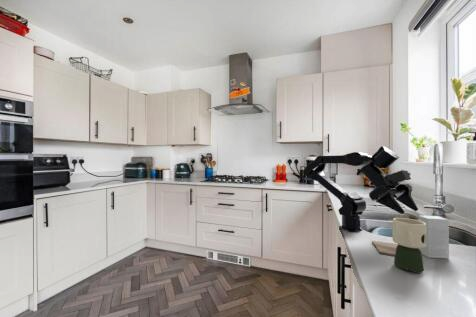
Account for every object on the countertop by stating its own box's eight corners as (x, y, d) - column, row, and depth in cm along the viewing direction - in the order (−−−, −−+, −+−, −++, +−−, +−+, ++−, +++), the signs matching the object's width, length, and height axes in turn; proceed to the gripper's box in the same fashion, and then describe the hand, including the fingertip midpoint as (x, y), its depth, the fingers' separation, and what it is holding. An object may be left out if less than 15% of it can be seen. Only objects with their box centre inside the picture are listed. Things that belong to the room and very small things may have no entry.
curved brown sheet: (372, 242, 75) (372, 240, 75) (398, 245, 72) (398, 244, 72) (380, 253, 66) (380, 252, 66) (411, 258, 63) (411, 256, 63)
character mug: (429, 282, 50) (430, 228, 50) (393, 273, 54) (393, 223, 55) (422, 264, 59) (422, 218, 60) (391, 257, 63) (391, 214, 64)
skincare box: (437, 252, 67) (437, 215, 67) (449, 259, 63) (449, 219, 63) (417, 251, 68) (417, 214, 68) (427, 257, 64) (427, 218, 64)
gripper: (378, 162, 71) (417, 200, 61) (406, 162, 80) (444, 195, 70) (356, 182, 78) (388, 219, 68) (384, 181, 87) (416, 213, 77)
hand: (410, 211), depth 71 cm, fingers open, 9 cm apart
